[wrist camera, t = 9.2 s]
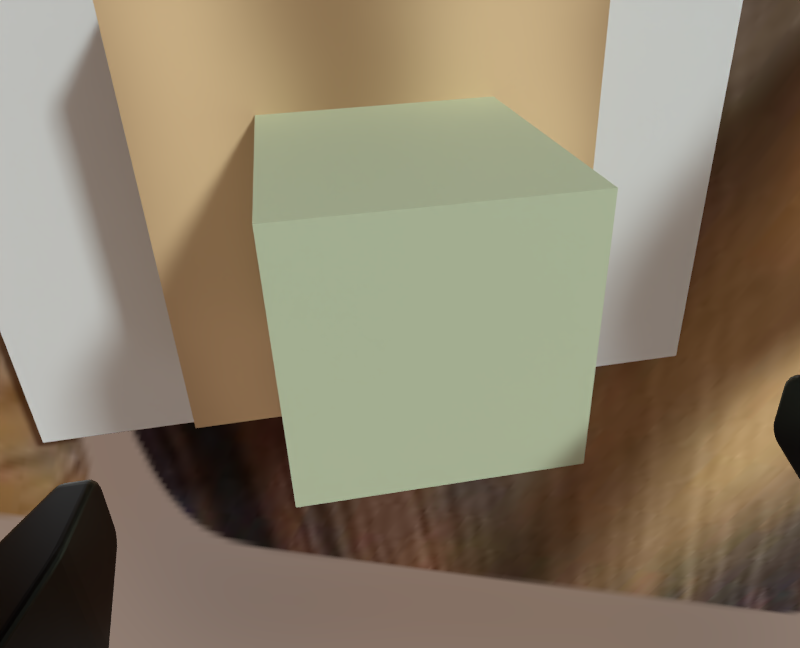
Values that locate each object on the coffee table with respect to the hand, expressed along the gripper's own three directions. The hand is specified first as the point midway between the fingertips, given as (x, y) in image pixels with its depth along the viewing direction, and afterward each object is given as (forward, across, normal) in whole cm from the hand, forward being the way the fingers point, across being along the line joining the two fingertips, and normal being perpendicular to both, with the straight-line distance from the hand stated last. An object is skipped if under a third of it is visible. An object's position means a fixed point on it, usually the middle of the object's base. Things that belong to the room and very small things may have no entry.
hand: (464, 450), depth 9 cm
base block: (+11, 0, 0) cm, 11 cm away
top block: (+8, 0, 0) cm, 8 cm away
